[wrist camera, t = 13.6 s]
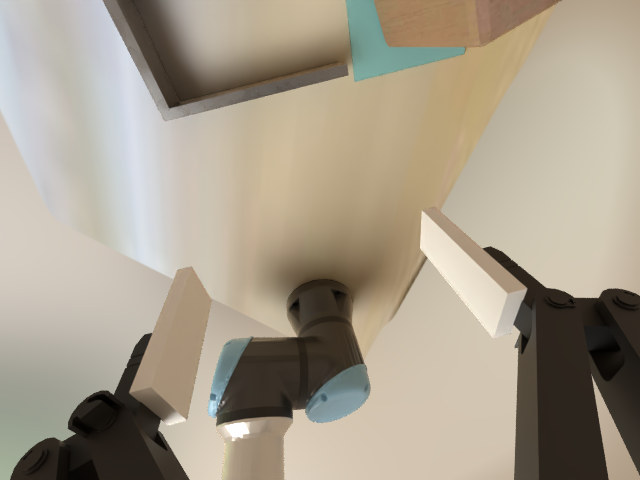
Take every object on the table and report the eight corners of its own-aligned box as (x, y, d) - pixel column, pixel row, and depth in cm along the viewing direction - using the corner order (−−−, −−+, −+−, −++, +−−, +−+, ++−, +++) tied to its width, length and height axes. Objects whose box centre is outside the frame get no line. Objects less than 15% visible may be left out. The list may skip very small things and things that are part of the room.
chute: (339, 72, 38) (348, 75, 34) (175, 113, 37) (164, 121, 33) (317, -89, 29) (326, -111, 25) (102, -38, 29) (76, -51, 25)
